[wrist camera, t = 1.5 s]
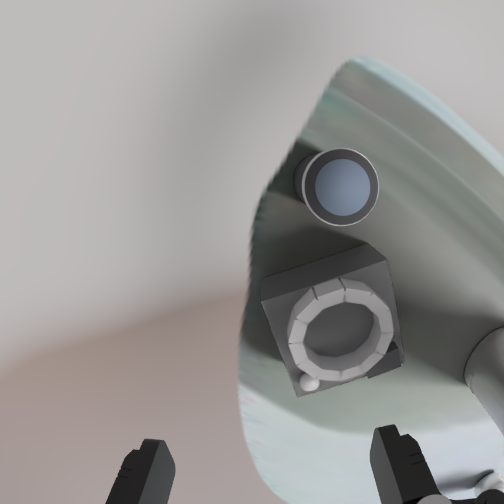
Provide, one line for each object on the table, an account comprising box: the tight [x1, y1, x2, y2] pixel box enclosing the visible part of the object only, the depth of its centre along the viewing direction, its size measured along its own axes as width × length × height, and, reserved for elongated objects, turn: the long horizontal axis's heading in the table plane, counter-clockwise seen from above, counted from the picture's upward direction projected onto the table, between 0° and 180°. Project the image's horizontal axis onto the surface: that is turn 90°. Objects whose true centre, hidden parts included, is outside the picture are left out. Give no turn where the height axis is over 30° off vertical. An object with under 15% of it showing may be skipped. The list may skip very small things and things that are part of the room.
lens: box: [293, 148, 379, 226], centre depth 22 cm, size 5×5×8 cm
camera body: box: [261, 243, 404, 398], centre depth 26 cm, size 10×10×7 cm
